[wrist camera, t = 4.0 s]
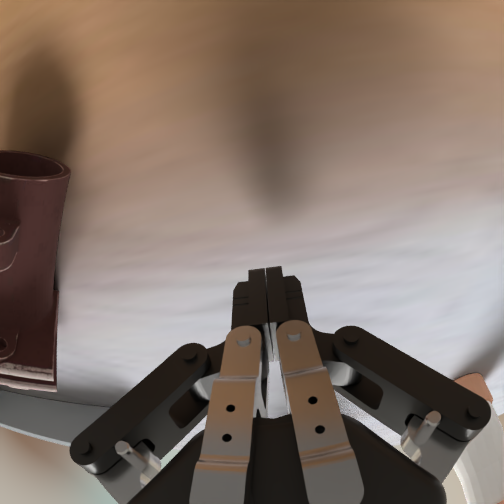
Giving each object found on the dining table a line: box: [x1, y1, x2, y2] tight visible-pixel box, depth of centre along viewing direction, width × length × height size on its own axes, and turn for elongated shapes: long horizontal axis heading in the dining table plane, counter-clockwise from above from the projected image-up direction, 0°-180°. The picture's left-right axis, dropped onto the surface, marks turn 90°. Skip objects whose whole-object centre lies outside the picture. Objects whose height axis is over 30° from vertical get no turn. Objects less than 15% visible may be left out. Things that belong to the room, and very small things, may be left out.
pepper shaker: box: [453, 373, 504, 504], centre depth 19 cm, size 7×7×19 cm
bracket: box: [0, 150, 71, 392], centre depth 14 cm, size 6×17×10 cm, turn 158°
